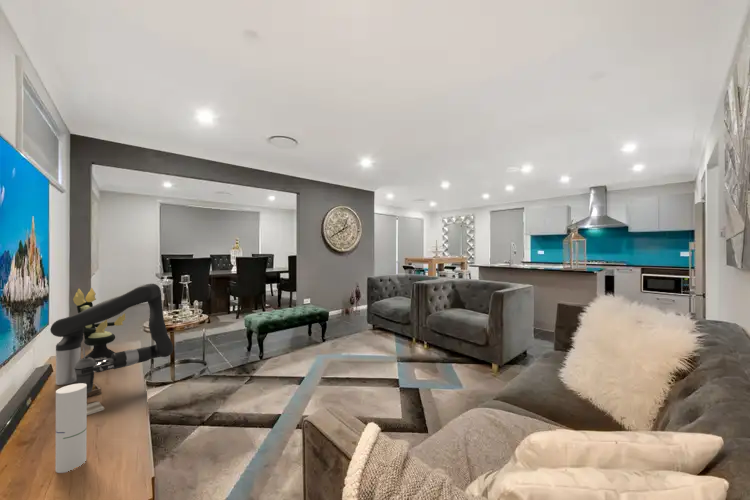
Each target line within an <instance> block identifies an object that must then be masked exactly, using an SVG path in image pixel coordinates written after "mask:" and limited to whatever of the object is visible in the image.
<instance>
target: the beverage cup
mask: <svg viewBox="0 0 750 500" xmlns="http://www.w3.org/2000/svg"><path fill="white" fill-rule="evenodd" d="M82 353H83V357H81V359H80V360H79V361H78V362H77V363H76V365H75V368H74V369H75V373H76V378H77V381H76V384H79V383H84V384H87V393H89V392H91V391H92V387H93V384H94V379H95V372H88V373H84V374H82V373H81V369H82V368H87V367H91V366H95V365H96V362H95V360H94V359H93V358H90V357H85V356H86V351H85V347H82Z"/></svg>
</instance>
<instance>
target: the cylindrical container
mask: <svg viewBox="0 0 750 500" xmlns="http://www.w3.org/2000/svg"><path fill="white" fill-rule="evenodd" d="M87 398H88V397H87V384H84V383H79V384H77V383H71V384H67V385H65V386H62V387H60V388H58V389H57V390H55V473H58V474H65V473H69V472H71V471H70V470H72V471H74V470H75V469H74V468H76V467H79V466H80V467H82V466H83V465H84V464H86V462H87V431H88V430H87V427H88V426H87V423H88V422H87V417H88V415H87V404H88V402H87V400H88V399H87ZM85 461H86V462H85ZM83 463H84V464H83ZM82 464H83V465H82ZM81 465H82V466H81ZM80 467H79V468H80ZM73 469H74V470H73ZM68 471H69V472H68Z"/></svg>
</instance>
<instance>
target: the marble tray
mask: <svg viewBox="0 0 750 500" xmlns="http://www.w3.org/2000/svg"><path fill="white" fill-rule="evenodd" d="M99 394H102V388H101V387H100V386H99V385H98V384H97V383H93V387H92V391H91V392H89V393H87V398H89V397H93V396H95V395H99Z"/></svg>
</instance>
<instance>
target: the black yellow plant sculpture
mask: <svg viewBox="0 0 750 500" xmlns="http://www.w3.org/2000/svg"><path fill="white" fill-rule="evenodd" d="M96 300H97V298H96V292H95V291H94V289H93V287H91V288H90V290H89V291H88V293H87V294H86V296H85V294H84V292H83V291H82V290H81V289H80V288H78V289H77V292H75V294H74V296H73V299H72V301H73V304H75V305H76V310H77V314H78V313H80V312H82V311H84V310H86V309H88V308H90V307H92V306H94V305H93V302H95V301H96ZM124 321H126V313H122V315H119V316H118V317H117V319H116V320H115V321H110V322H109V321H108V319H107V320H104V321H101V322H98V323H95V324H91V325H88V326H85V327H84V333H83V342H84V345H86V346H92V347H93V348H92V350H91V351H90V352H89V353H88V354H85V357H90V358H93V359H95V358H100V357H105V358H111V355H112V354H113V353H116V352H115V351H113V350H112V349H111V348H110V349H109V348H108V346H107V344H109V343H112V342H114V341H115V339H116V335H115V334H114V333H112V332H111V331H106V329H107V328H108V327H113V326H117V327H118V326H123V325H124V324H123V322H124Z"/></svg>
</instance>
